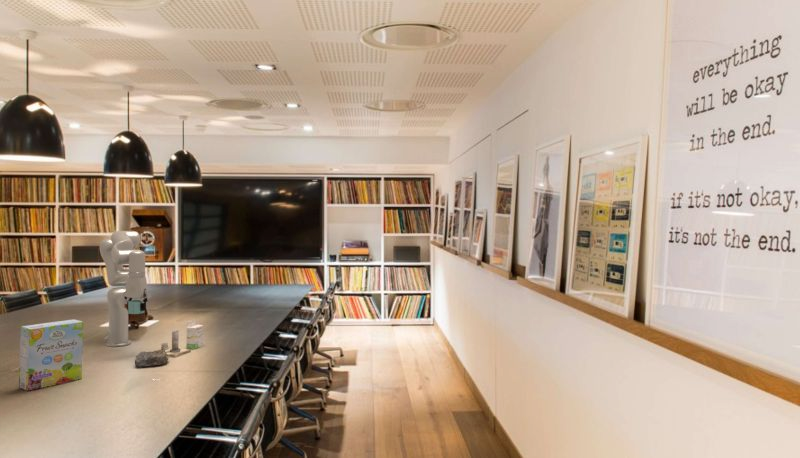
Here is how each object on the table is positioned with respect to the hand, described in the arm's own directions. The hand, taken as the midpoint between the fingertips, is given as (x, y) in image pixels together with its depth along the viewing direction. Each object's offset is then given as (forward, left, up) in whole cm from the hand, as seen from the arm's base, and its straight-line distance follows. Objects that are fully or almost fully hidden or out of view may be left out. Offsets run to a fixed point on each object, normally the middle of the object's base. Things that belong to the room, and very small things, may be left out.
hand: (136, 309), depth 272 cm
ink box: (+16, +26, -24) cm, 39 cm away
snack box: (-1, -47, -24) cm, 53 cm away
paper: (+36, -34, -24) cm, 55 cm away
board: (+12, +11, -24) cm, 29 cm away
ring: (0, 0, -1) cm, 1 cm away
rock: (+17, -9, -24) cm, 31 cm away
